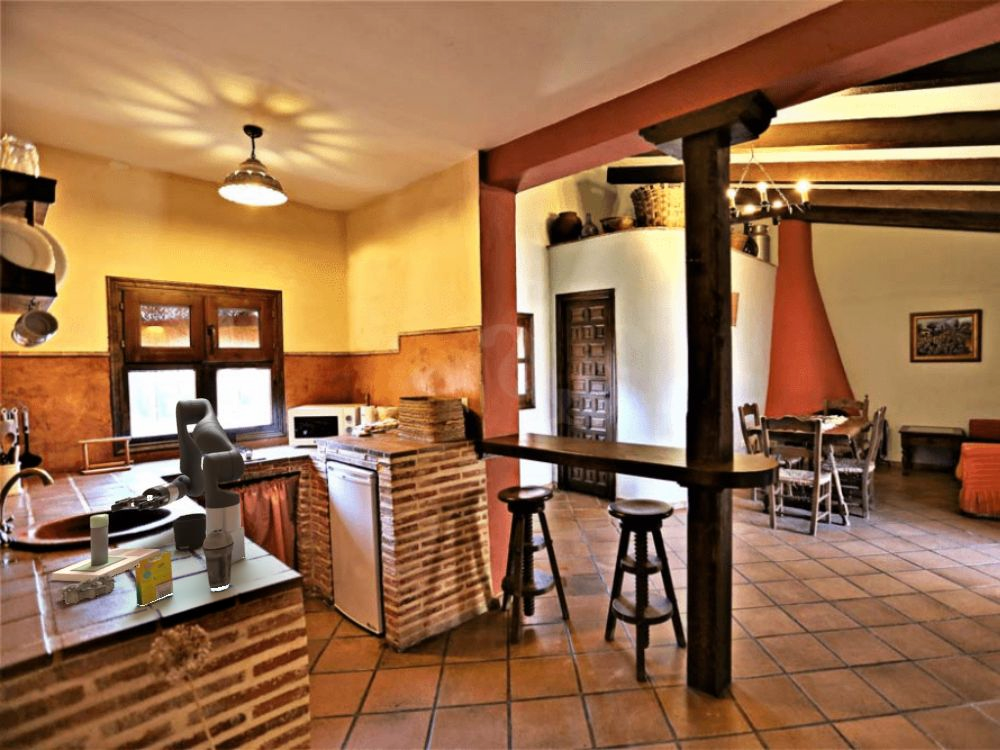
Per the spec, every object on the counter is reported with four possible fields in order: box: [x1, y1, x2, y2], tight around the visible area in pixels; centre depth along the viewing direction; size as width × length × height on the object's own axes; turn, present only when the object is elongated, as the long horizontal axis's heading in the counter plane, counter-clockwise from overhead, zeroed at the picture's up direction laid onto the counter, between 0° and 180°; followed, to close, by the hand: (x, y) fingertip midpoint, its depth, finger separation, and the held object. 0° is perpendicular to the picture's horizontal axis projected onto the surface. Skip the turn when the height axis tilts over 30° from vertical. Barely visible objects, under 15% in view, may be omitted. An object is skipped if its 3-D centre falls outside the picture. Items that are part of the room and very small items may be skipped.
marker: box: [89, 513, 109, 566], centre depth 147 cm, size 4×4×14 cm
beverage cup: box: [202, 512, 234, 589], centre depth 132 cm, size 7×7×20 cm
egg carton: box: [59, 573, 117, 604], centre depth 131 cm, size 11×8×4 cm
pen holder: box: [172, 512, 207, 552], centre depth 166 cm, size 9×9×10 cm
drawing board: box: [51, 547, 161, 582], centre depth 150 cm, size 16×20×2 cm
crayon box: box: [134, 551, 174, 605], centre depth 126 cm, size 7×3×12 cm, turn 150°
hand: (125, 508), depth 158 cm, fingers open, 8 cm apart
